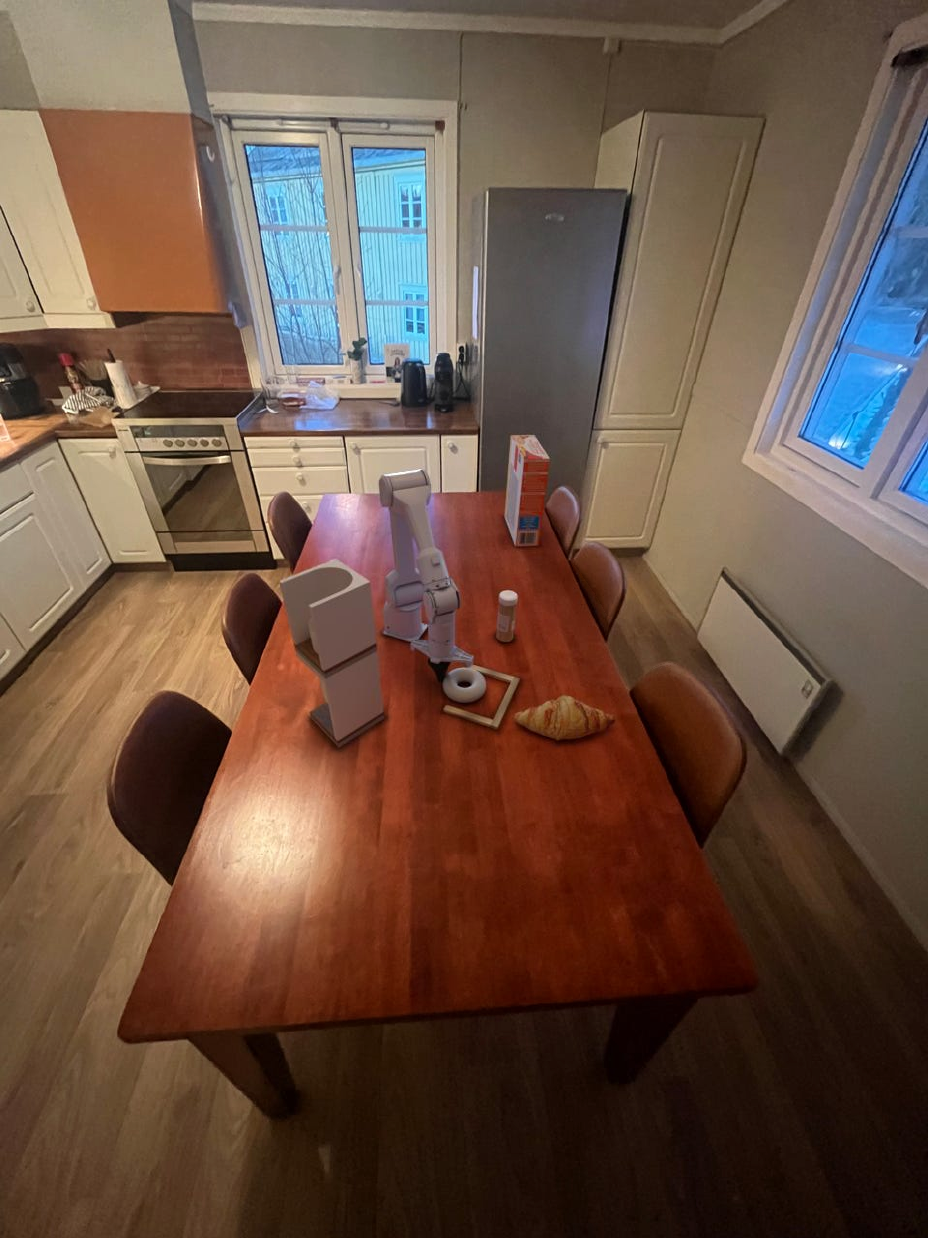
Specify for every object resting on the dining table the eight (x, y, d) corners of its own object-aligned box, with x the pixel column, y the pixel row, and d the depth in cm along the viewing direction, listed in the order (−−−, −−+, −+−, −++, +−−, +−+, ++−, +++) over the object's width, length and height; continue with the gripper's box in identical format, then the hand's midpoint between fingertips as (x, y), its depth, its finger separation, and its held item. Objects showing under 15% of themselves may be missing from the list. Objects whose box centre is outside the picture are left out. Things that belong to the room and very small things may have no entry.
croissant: (513, 744, 108) (517, 736, 100) (512, 698, 112) (515, 688, 104) (612, 745, 107) (623, 737, 100) (607, 699, 112) (617, 688, 104)
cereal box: (538, 545, 171) (550, 458, 153) (515, 546, 170) (523, 458, 152) (525, 516, 189) (534, 435, 171) (504, 516, 188) (510, 435, 170)
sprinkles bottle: (516, 639, 131) (521, 596, 122) (502, 645, 129) (506, 602, 120) (506, 629, 134) (510, 587, 125) (492, 635, 132) (495, 592, 123)
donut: (483, 674, 120) (441, 675, 119) (484, 664, 118) (441, 664, 117) (488, 705, 112) (443, 706, 111) (489, 694, 110) (443, 695, 109)
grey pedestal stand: (355, 692, 114) (335, 558, 93) (384, 718, 108) (370, 581, 87) (311, 718, 107) (279, 580, 86) (338, 747, 102) (311, 607, 80)
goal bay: (443, 711, 110) (443, 709, 109) (470, 666, 122) (470, 663, 121) (497, 729, 106) (497, 727, 106) (519, 681, 118) (519, 678, 118)
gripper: (403, 636, 107) (405, 681, 116) (465, 654, 103) (463, 700, 111) (417, 618, 113) (419, 663, 121) (478, 634, 108) (475, 680, 117)
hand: (441, 679), depth 116 cm, fingers closed
